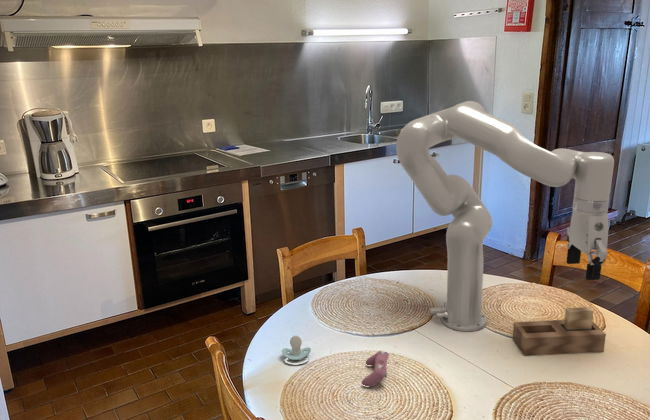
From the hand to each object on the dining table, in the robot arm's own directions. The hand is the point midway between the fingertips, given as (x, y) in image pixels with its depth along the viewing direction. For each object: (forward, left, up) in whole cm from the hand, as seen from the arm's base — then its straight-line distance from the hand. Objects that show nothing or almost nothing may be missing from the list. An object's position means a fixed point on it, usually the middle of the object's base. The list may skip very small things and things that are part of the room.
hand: (582, 271), depth 129 cm
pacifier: (-72, -1, -21) cm, 75 cm away
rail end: (0, 0, -20) cm, 20 cm away
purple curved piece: (-52, -10, -21) cm, 57 cm away
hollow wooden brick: (-5, 0, -20) cm, 21 cm away
